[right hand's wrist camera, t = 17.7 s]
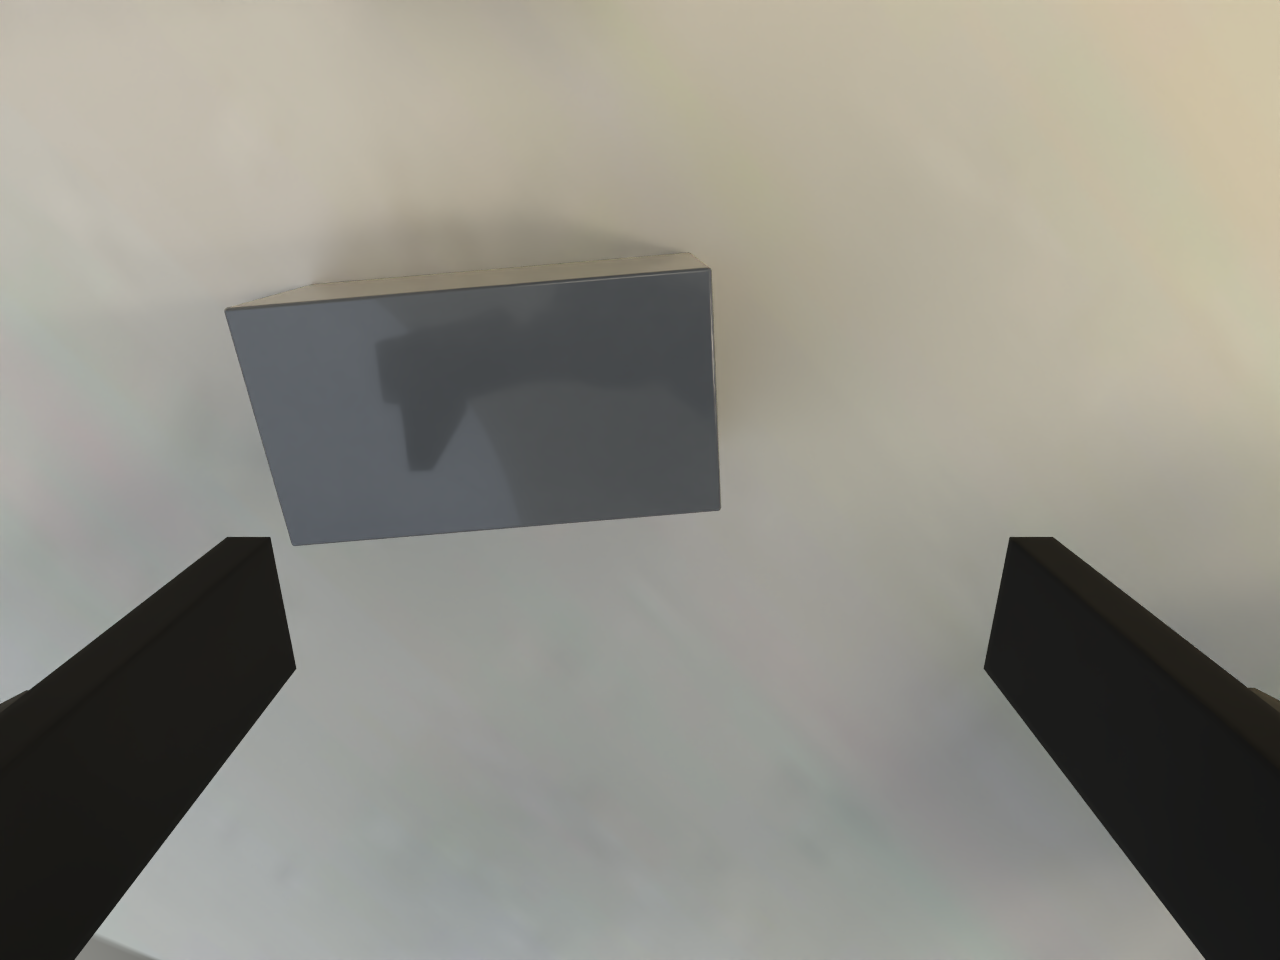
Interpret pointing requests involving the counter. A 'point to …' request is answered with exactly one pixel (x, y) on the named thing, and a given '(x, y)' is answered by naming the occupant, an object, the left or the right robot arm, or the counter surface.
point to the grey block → (486, 397)
